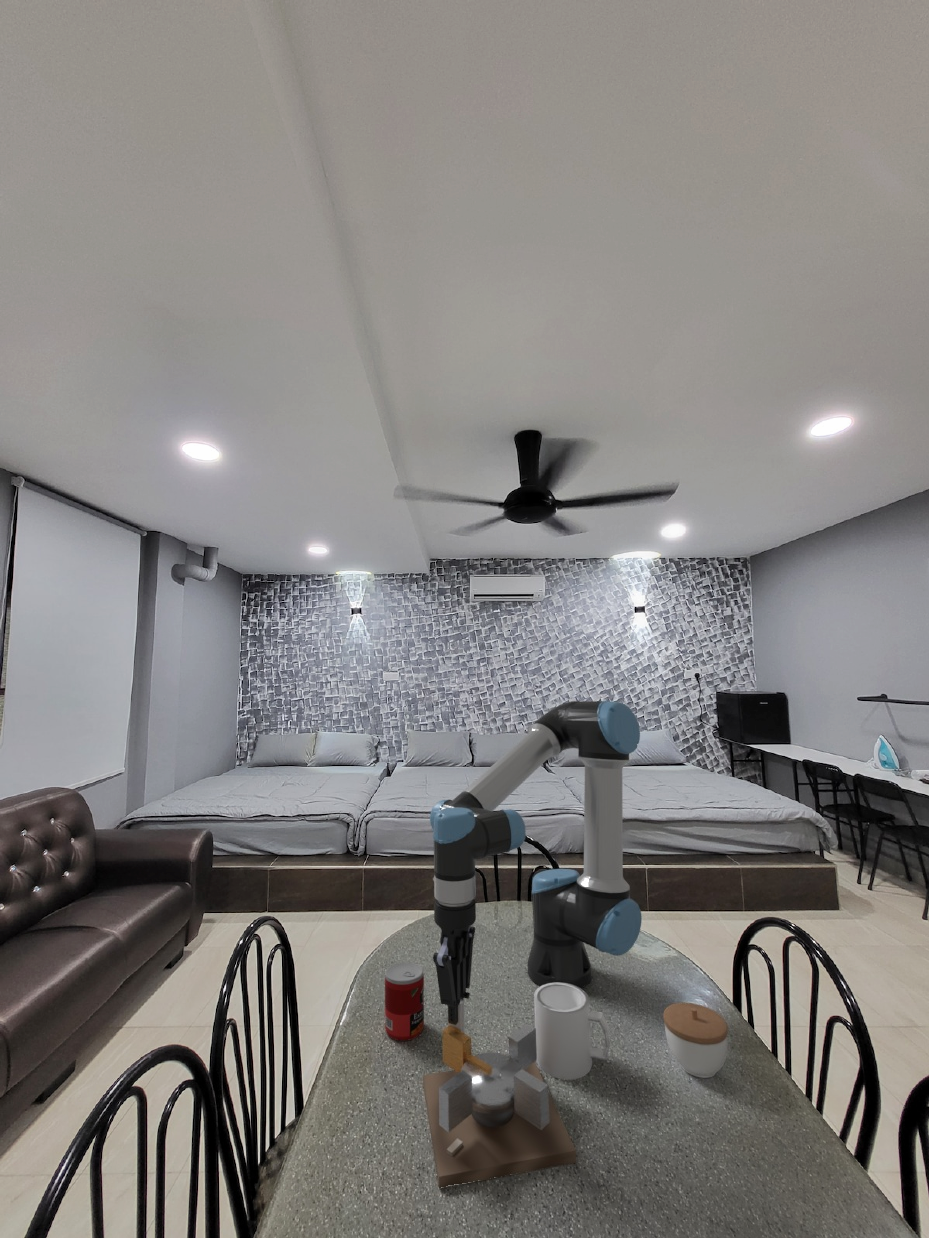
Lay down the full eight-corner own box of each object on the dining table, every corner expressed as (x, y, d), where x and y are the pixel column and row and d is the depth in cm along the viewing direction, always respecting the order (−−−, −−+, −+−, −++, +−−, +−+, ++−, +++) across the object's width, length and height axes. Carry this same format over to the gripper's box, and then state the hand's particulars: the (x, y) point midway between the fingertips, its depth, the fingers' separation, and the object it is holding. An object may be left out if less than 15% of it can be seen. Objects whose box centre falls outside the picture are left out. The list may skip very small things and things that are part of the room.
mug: (612, 1050, 100) (609, 989, 102) (609, 1088, 91) (606, 1020, 92) (540, 1037, 105) (538, 978, 106) (531, 1073, 95) (529, 1008, 96)
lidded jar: (726, 1052, 99) (722, 998, 100) (735, 1093, 89) (730, 1032, 90) (665, 1041, 103) (662, 988, 104) (666, 1080, 93) (663, 1021, 94)
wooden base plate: (533, 1066, 96) (532, 1042, 97) (576, 1161, 77) (575, 1131, 77) (423, 1084, 93) (422, 1059, 93) (439, 1188, 73) (438, 1156, 74)
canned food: (418, 1043, 103) (417, 982, 105) (379, 1039, 105) (379, 979, 106) (428, 1019, 111) (428, 963, 112) (392, 1016, 112) (392, 959, 114)
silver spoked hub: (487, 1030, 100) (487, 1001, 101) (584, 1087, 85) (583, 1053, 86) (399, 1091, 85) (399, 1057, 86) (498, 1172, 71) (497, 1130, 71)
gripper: (451, 883, 104) (452, 1013, 101) (419, 908, 92) (419, 1056, 90) (487, 888, 101) (489, 1023, 98) (458, 916, 89) (460, 1069, 87)
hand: (456, 1039), depth 94 cm, fingers closed
